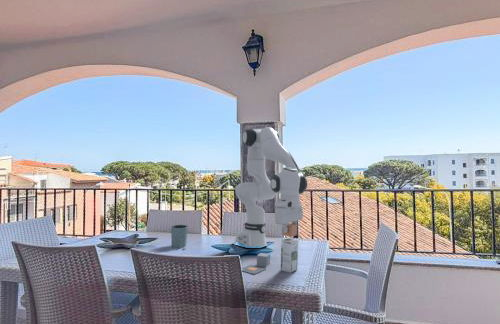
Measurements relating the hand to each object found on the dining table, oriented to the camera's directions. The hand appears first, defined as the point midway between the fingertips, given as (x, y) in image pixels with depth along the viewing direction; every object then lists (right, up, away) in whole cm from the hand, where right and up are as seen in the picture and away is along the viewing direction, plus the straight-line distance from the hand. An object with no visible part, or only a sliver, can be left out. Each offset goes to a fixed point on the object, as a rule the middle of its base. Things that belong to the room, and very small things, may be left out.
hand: (289, 231), depth 140 cm
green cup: (-61, -18, +40) cm, 75 cm away
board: (-17, -18, -1) cm, 25 cm away
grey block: (-12, -18, +7) cm, 23 cm away
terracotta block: (0, -2, 0) cm, 2 cm away
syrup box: (0, -18, 0) cm, 18 cm away
